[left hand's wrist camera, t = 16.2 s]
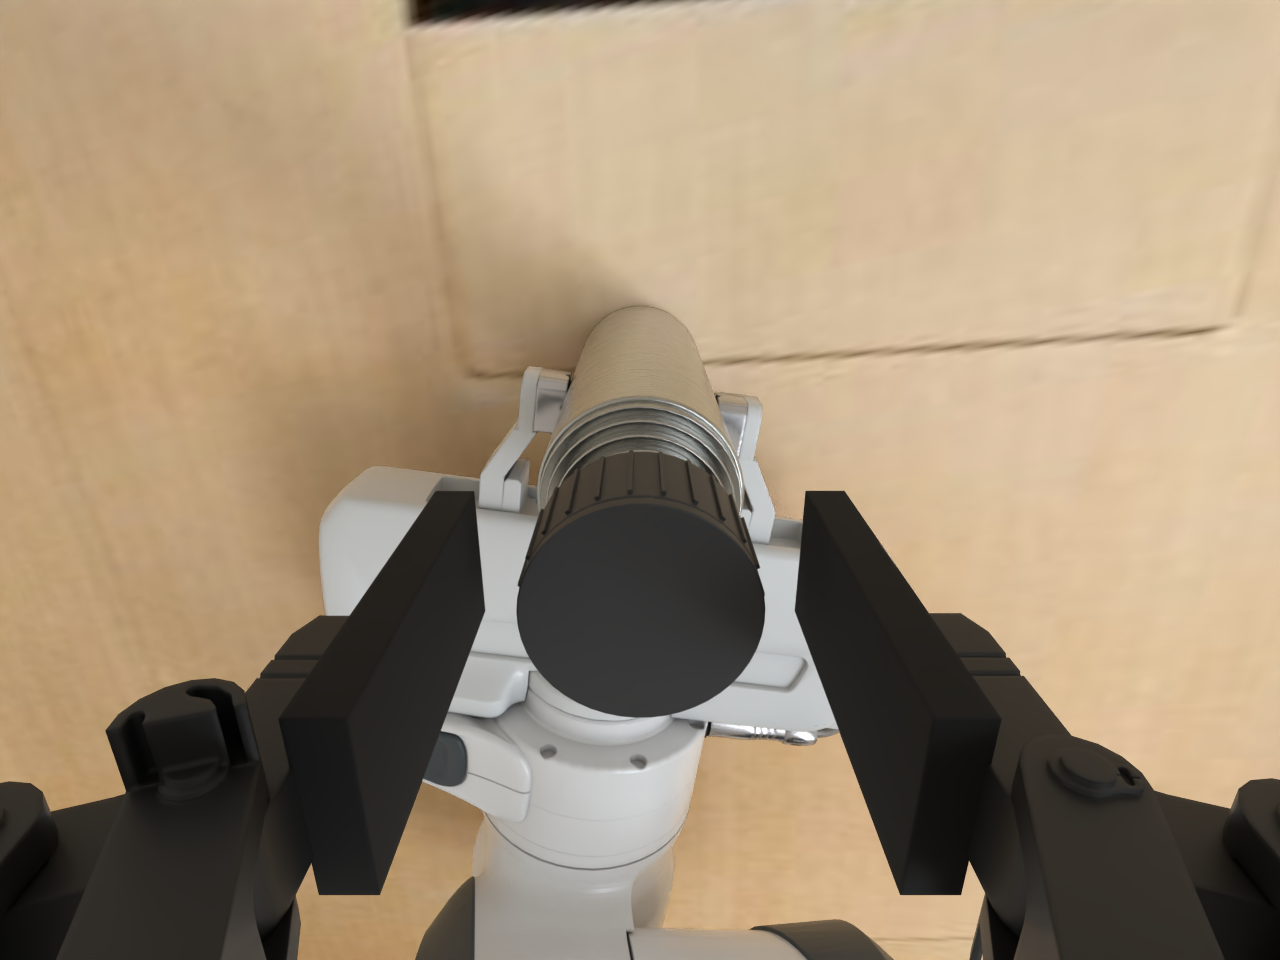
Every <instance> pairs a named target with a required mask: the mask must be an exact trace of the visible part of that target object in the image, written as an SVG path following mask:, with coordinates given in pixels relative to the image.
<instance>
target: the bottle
mask: <svg viewBox="0 0 1280 960" xmlns="http://www.w3.org/2000/svg"><path fill="white" fill-rule="evenodd" d="M629 450H633V452H655V453H659V451H660V452H663V454H666V455H671V456H675V457H677V458H680V459H683V460H685V461H687V459H688V460H690V461H691V463H692V464H694V465H696V466H697V467H699V468H701V469H702V470H704V471H705V472H707V473H708V474H709V475H711V474H713V475H714V476H715V478H716V481H717V482H718V483H719V484H721V486H722V487H723V488H724V489H725V490H726V492H727V493H728V494H729V495H730V494H732V495H733V497H734V500H735V503H736V507H737V510H738V512H739V515H740V517H741V513H742V509H743V502H744V480H743V474H742V469H741V466H740V463H739V460H738V457H737V454H736V451H735V449H734V446H733V443H732V441H731V438H730V435H729V433H728V430H727V427H726V425H725V422H724V419H723V417H722V414H721V411H720V409H719V406H718V403H717V401H716V398H715V395H714V393H713V390H712V387H711V385H710V382H709V379H708V377H707V374H706V371H705V369H704V366H703V363H702V361H701V358H700V355H699V353H698V350H697V347H696V345H695V342H694V340H693V338H692V336H691V334H690V333H689V331H688V330H687V329H686V327H685V326H684V325H683V324H682V323H681V322H680V321H679V320H678V319H676V318H675V317H674V316H672V315H670V314H669V313H667V312H665V311H663V310H660V309H657V308H653V307H647V306H634V307H628V308H623V309H621V310H618V311H615V312H613V313H612V314H610V315H608V316H607V317H605V318H604V319H602V320H601V321H600V322H599V323H598V324H597V325H596V326H595V328H594V329H593V330H592V331H591V333H590V335H589V336H588V338H587V340H586V343H585V345H584V348H583V350H582V353H581V356H580V359H579V361H578V364H577V367H576V370H575V372H574V375H573V378H572V380H571V383H570V386H569V389H568V391H567V394H566V397H565V399H564V402H563V405H562V408H561V410H560V413H559V416H558V419H557V421H556V424H555V427H554V429H553V432H552V435H551V438H550V440H549V443H548V446H547V448H546V451H545V454H544V457H543V459H542V462H541V466H540V470H539V473H538V480H537V502H538V509H539V512H540V510H541V509H544V508H545V506H546V505H547V503H548V501H549V499H550V498H551V496H552V494H553V490H554V488H555V487H556V486H557V487H559V486H560V485H561V484H562V483H563V482H564V481H565V480H566V479H567V478H568V477H570V476H571V475H572V474H574V470H575V469H577V468H578V469H581V468H582V467H584V466H586V465H588V464H589V463H592V462H594V461H596V460H598V459H600V457H602V456H604V457H607V456H611V455H615V454H620V453H627V452H629Z"/></svg>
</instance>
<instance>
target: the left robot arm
mask: <svg viewBox="0 0 1280 960" xmlns="http://www.w3.org/2000/svg"><path fill="white" fill-rule="evenodd" d="M484 613H485V601H484V590H483V579H482V569H481V558H480V547H479V536H478V526H477V515H476V504H475V493H474V491H435V493H434V494H433V496H432V497H431V498H430V500H429V501H428V503H427V504H426V506H425V507H424V509H423V510H422V511H421V513H420V514H419V516H418V517H417V519H416V520H415V522H414V523H413V524H412V526H411V527H410V529H409V530H408V532H407V533H406V535H405V536H404V537H403V539H402V540H401V542H400V543H399V545H398V546H397V548H396V549H395V551H394V552H393V553H392V555H391V556H390V558H389V559H388V561H387V562H386V564H385V565H384V566H383V568H382V569H381V571H380V572H379V574H378V575H377V577H376V578H375V579H374V581H373V582H372V584H371V585H370V587H369V588H368V590H367V591H366V592H365V594H364V595H363V597H362V598H361V600H360V601H359V603H358V604H357V605H356V607H355V608H354V610H353V611H352V613H351V614H350V616H318V617H317V618H315V619H314V620H312V621H311V622H309V623H308V624H306V625H305V626H303V627H302V628H300V629H299V630H297V631H296V632H294V633H293V634H292V635H291V636H290V637H289V638H288V640H287V641H286V642H285V644H284V645H283V646H282V647H281V649H280V650H279V651H278V652H277V654H276V655H275V659H274V660H271V661H270V662H269V664H268V665H267V666H266V667H265V669H264V670H263V671H262V673H261V676H260V678H257V679H256V680H255V681H254V683H253V684H252V685H251V686H250V688H249V689H248V690H247V691H246V693H245V692H244V690H243V689H242V688H240V687H239V686H238V685H237V684H235V683H234V682H231V681H226V680H221V679H216V678H213V679H200V680H190V681H186V682H183V683H179V684H175V685H172V686H168V687H165V688H163V689H160V690H158V691H156V692H154V693H152V694H150V695H147V696H145V697H143V698H141V699H139V700H138V701H136V702H135V703H134V704H132V705H131V706H129V707H128V708H127V709H125V710H124V711H122V712H121V713H120V714H118V716H117V717H116V718H115V719H114V721H113V722H112V723H111V724H110V726H109V727H108V728H107V729H106V734H107V737H108V740H109V742H110V745H111V748H112V751H113V754H114V757H115V760H116V763H117V766H118V768H119V771H120V774H121V777H122V780H123V783H124V786H125V789H126V793H125V794H123V795H120V796H117V797H113V798H109V799H104V800H100V801H96V802H91V803H87V804H83V805H78V806H74V807H69V808H65V809H61V810H56V811H52V812H50V809H49V807H48V804H47V802H46V799H45V797H44V794H43V792H42V791H41V790H39V789H38V788H36V787H35V786H34V785H32V784H31V783H21V782H4V783H0V960H297V955H298V945H299V936H300V926H301V922H300V915H299V908H298V904H297V900H296V896H295V895H296V893H297V891H298V889H299V887H300V885H301V883H302V881H303V879H304V877H305V875H306V873H307V871H308V869H309V867H310V865H311V863H312V867H313V871H314V875H315V880H316V884H317V888H318V893H319V895H380V893H381V890H382V888H383V885H384V882H385V880H386V877H387V874H388V871H389V869H390V866H391V863H392V861H393V858H394V855H395V853H396V850H397V847H398V845H399V842H400V839H401V837H402V834H403V831H404V828H405V826H406V823H407V820H408V818H409V815H410V812H411V810H412V807H413V804H414V802H415V799H416V796H417V794H418V791H419V788H420V785H421V783H422V780H423V777H424V775H425V772H426V769H427V767H428V764H429V761H430V759H431V756H432V753H433V750H434V748H435V745H436V742H437V740H438V737H439V734H440V732H441V729H442V726H443V724H444V721H445V718H446V716H447V713H448V710H449V707H450V705H451V702H452V699H453V697H454V694H455V691H456V689H457V686H458V683H459V681H460V678H461V675H462V673H463V670H464V667H465V664H466V662H467V659H468V656H469V654H470V651H471V648H472V646H473V643H474V640H475V638H476V635H477V632H478V629H479V627H480V624H481V621H482V619H483V616H484ZM795 613H796V616H797V619H798V621H799V624H800V627H801V630H802V632H803V635H804V638H805V640H806V643H807V646H808V648H809V651H810V654H811V656H812V659H813V662H814V664H815V667H816V670H817V673H818V675H819V678H820V681H821V683H822V686H823V689H824V691H825V694H826V697H827V699H828V702H829V705H830V708H831V710H832V713H833V716H834V718H835V721H836V724H837V726H838V729H839V732H840V734H841V737H842V740H843V742H844V745H845V748H846V751H847V753H848V756H849V759H850V761H851V764H852V767H853V769H854V772H855V775H856V777H857V780H858V783H859V785H860V788H861V791H862V794H863V796H864V799H865V802H866V804H867V807H868V810H869V812H870V815H871V818H872V820H873V823H874V826H875V829H876V831H877V834H878V837H879V839H880V842H881V845H882V847H883V850H884V853H885V855H886V858H887V861H888V863H889V866H890V869H891V872H892V874H893V877H894V880H895V882H896V885H897V888H898V890H899V893H900V895H961V893H962V888H963V884H964V880H965V875H966V871H967V867H968V862H969V861H970V863H971V865H972V867H973V869H974V871H975V873H976V875H977V877H978V879H979V881H980V883H981V885H982V887H983V889H984V891H985V896H984V900H983V904H982V908H981V912H980V916H979V920H978V924H977V928H976V932H975V936H974V940H973V944H972V948H971V953H970V960H981V958H982V954H983V960H1280V780H1278V779H1272V778H1271V779H1259V780H1250V781H1249V782H1247V783H1246V784H1245V785H1243V786H1242V787H1241V788H1239V789H1238V792H1237V794H1236V797H1235V799H1234V802H1233V804H1232V807H1231V809H1229V808H1224V807H1220V806H1216V805H1211V804H1207V803H1202V802H1198V801H1194V800H1189V799H1185V798H1180V797H1176V796H1172V795H1167V794H1164V793H1160V792H1157V791H1154V790H1153V788H1152V787H1151V785H1150V784H1149V783H1148V781H1147V780H1146V778H1145V777H1144V775H1143V774H1142V773H1141V772H1140V771H1139V770H1138V769H1137V768H1135V767H1134V766H1133V765H1132V764H1130V763H1129V762H1128V761H1127V760H1126V759H1124V758H1123V757H1122V756H1120V755H1118V754H1116V753H1114V752H1112V751H1110V750H1109V749H1107V748H1105V747H1103V746H1101V745H1099V744H1096V743H1093V742H1090V741H1087V740H1083V739H1080V738H1077V737H1074V736H1071V735H1070V733H1069V732H1068V731H1067V729H1066V728H1065V727H1064V726H1063V724H1062V723H1061V722H1060V721H1059V719H1058V718H1057V717H1056V716H1055V714H1054V713H1053V712H1052V711H1051V709H1050V708H1049V707H1048V706H1047V704H1046V703H1045V702H1044V701H1043V699H1042V698H1041V697H1040V696H1039V694H1038V693H1037V692H1036V691H1035V689H1034V688H1033V687H1032V686H1031V684H1030V683H1029V682H1028V681H1027V679H1026V678H1025V677H1024V676H1021V675H1020V671H1019V669H1018V668H1017V667H1016V666H1015V664H1014V663H1013V662H1012V661H1011V659H1010V658H1006V653H1005V652H1004V651H1003V649H1002V648H1001V647H1000V646H999V644H998V643H997V642H996V641H995V639H994V638H993V637H992V636H991V634H990V633H989V632H988V631H987V630H985V629H983V628H982V627H980V626H979V625H977V624H976V623H974V622H973V621H971V620H970V619H968V618H967V617H965V616H964V615H962V614H961V613H928V611H927V610H926V608H925V607H924V606H923V604H922V603H921V601H920V600H919V598H918V597H917V595H916V594H915V592H914V591H913V590H912V588H911V587H910V585H909V584H908V582H907V581H906V579H905V578H904V577H903V575H902V574H901V572H900V571H899V569H898V568H897V566H896V565H895V564H894V562H893V561H892V559H891V558H890V556H889V555H888V553H887V552H886V551H885V549H884V548H883V546H882V545H881V543H880V542H879V540H878V539H877V538H876V536H875V535H874V533H873V532H872V530H871V529H870V527H869V526H868V524H867V523H866V522H865V520H864V519H863V517H862V516H861V514H860V513H859V511H858V510H857V509H856V507H855V506H854V504H853V503H852V501H851V500H850V498H849V497H848V496H847V494H846V493H845V491H806V493H805V504H804V515H803V525H802V536H801V547H800V558H799V568H798V579H797V590H796V601H795Z"/></svg>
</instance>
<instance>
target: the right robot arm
mask: <svg viewBox="0 0 1280 960" xmlns="http://www.w3.org/2000/svg"><path fill="white" fill-rule="evenodd" d="M571 375H572V373H571V372H566V371H560V370H553V369H547V368H543V367H533V366H528V367H527V369H526V371H525V372H524V375H523V380H522V385H521V394H520V406H519V418H518V420H517V421H516V422H515V424H514V425H513V426H512V428H511V429H510V430H509V432H508V433H507V434H506V436H505V437H504V439H503V440H502V441H501V443H500V444H499V445H498V447H497V448H496V449H495V451H494V452H493V453H492V455H491V457H490V458H489V460H488V462H487V464H486V465H485V467H484V469H483V471H482V472H481V474H480V478H474V477H466V476H458V475H450V474H443V473H435V472H427V471H419V470H412V469H404V468H396V467H389V466H372V467H370V468H368V469H366V470H365V471H363V472H362V473H361V474H360V475H359V476H357V477H356V478H355V479H354V480H352V481H351V482H350V483H349V484H348V485H346V486H345V487H344V488H343V489H342V490H341V491H340V492H339V493H338V495H337V496H336V497H335V498H334V499H333V500H332V501H331V502H330V504H329V505H328V507H327V508H326V510H325V512H324V514H323V516H322V518H321V522H320V527H319V561H320V574H321V584H322V594H323V601H324V608H325V615H326V616H350V614H351V613H352V611H353V610H354V608H355V607H356V605H357V604H358V603H359V601H360V600H361V598H362V597H363V595H364V594H365V592H366V591H367V590H368V588H369V587H370V585H371V584H372V582H373V581H374V579H375V578H376V577H377V575H378V574H379V572H380V571H381V569H382V568H383V566H384V565H385V564H386V562H387V561H388V559H389V558H390V556H391V555H392V553H393V552H394V551H395V549H396V548H397V546H398V545H399V543H400V542H401V540H402V539H403V537H404V536H405V535H406V533H407V532H408V530H409V529H410V527H411V526H412V524H413V523H414V522H415V520H416V519H417V517H418V516H419V514H420V513H421V511H422V510H423V509H424V507H425V506H426V504H427V503H428V501H429V500H430V498H431V497H432V496H433V494H434V493H435V491H474V493H475V504H476V515H477V526H478V536H479V547H480V558H481V569H482V579H483V590H484V601H485V613H484V616H483V619H482V621H481V624H480V627H479V629H478V632H477V635H476V638H475V640H474V643H473V646H472V648H471V651H470V654H469V656H468V659H467V662H466V664H465V667H464V670H463V673H462V675H461V678H460V681H459V683H458V686H457V689H456V691H455V694H454V697H453V699H452V702H451V705H450V707H449V710H448V713H447V716H446V718H445V721H444V724H443V726H442V729H441V732H440V734H439V737H438V740H437V742H436V745H435V748H434V750H433V753H432V756H431V759H430V761H429V764H428V767H427V769H426V772H425V775H424V777H423V780H422V782H424V783H427V784H429V785H432V786H434V787H436V788H439V789H441V790H443V791H445V792H448V793H450V794H452V795H454V796H456V797H458V798H460V799H462V800H464V801H466V802H468V803H470V804H472V805H473V806H475V807H477V808H479V809H481V810H482V812H483V816H484V819H483V822H482V824H481V826H480V828H479V831H478V834H477V837H476V840H475V843H474V848H473V856H472V866H471V877H470V878H469V879H468V880H467V881H466V882H465V883H464V884H463V885H462V886H461V887H460V888H459V889H458V890H457V891H456V892H455V893H454V894H453V896H452V897H451V898H450V899H449V901H448V902H447V903H446V905H445V906H444V908H443V909H442V910H441V912H440V913H439V914H438V916H437V917H436V918H435V920H434V921H433V923H432V924H431V925H430V927H429V928H428V930H427V931H426V932H425V934H424V937H423V939H422V942H421V944H420V947H419V950H418V953H417V956H416V959H415V960H894V959H893V958H892V957H890V956H889V955H888V954H887V953H886V952H885V951H884V950H883V949H882V948H881V947H880V946H879V945H878V944H876V943H875V942H874V941H873V940H871V939H870V938H869V937H868V936H867V935H865V934H864V933H863V932H862V931H861V930H859V929H858V928H857V927H855V926H854V925H852V924H850V923H848V922H846V921H843V920H836V919H834V920H823V921H811V922H800V923H789V924H777V925H766V926H756V927H753V928H751V929H749V930H729V929H680V928H662V925H663V922H664V918H665V914H666V910H667V906H668V902H669V898H670V894H671V890H672V885H673V877H674V851H673V844H674V842H675V841H676V839H677V838H678V836H679V834H680V833H681V830H682V828H683V826H684V824H685V821H686V818H687V815H688V811H689V807H690V801H691V797H692V793H693V788H694V784H695V779H696V774H697V770H698V765H699V761H700V757H701V752H702V747H703V742H704V738H706V736H713V737H721V738H730V739H739V740H764V739H765V740H772V741H780V742H782V743H783V744H787V745H793V746H809V745H814V744H815V743H816V741H817V738H822V737H828V736H832V735H835V734H837V733H839V729H838V726H837V724H836V721H835V718H834V716H833V713H832V710H831V708H830V705H829V702H828V699H827V697H826V694H825V691H824V689H823V686H822V683H821V681H820V678H819V675H818V673H817V670H816V667H815V664H814V662H813V659H812V656H811V654H810V651H809V648H808V646H807V643H806V640H805V638H804V635H803V632H802V630H801V627H800V624H799V621H798V619H797V616H796V613H795V601H796V590H797V579H798V568H799V558H800V547H801V536H802V525H803V520H802V519H794V518H786V517H778V516H775V514H776V513H775V510H774V507H773V504H772V501H771V499H770V496H769V493H768V490H767V488H766V485H765V482H764V479H763V476H762V474H761V471H760V468H759V465H758V463H757V460H756V458H755V456H754V454H755V449H756V445H757V440H758V435H759V430H760V425H761V421H762V404H761V403H760V401H759V399H758V398H757V397H753V396H745V395H738V394H730V393H722V392H715V393H714V395H715V398H716V401H717V403H718V406H719V409H720V411H721V414H722V417H723V419H724V422H725V425H726V427H727V430H728V433H729V435H730V438H731V441H732V443H733V446H734V449H735V451H736V454H737V457H738V460H739V463H740V466H741V469H742V474H743V480H744V502H743V509H742V513H741V518H742V517H744V519H745V522H746V525H747V528H748V531H749V534H750V537H751V541H752V544H753V547H754V550H755V553H756V556H757V559H758V562H759V565H760V569H757V570H758V573H759V576H760V579H761V582H762V586H763V589H764V592H765V596H764V599H765V623H764V628H763V633H762V637H761V639H760V642H759V645H758V648H757V650H756V652H755V654H754V656H753V657H752V659H751V661H750V663H749V664H748V665H747V667H746V668H745V670H744V671H743V672H742V674H741V675H740V676H739V677H738V678H737V679H736V680H735V681H734V682H733V683H732V684H731V685H730V686H728V687H727V688H726V689H725V690H724V691H722V692H721V693H720V694H718V695H717V696H715V697H713V698H712V699H710V700H709V701H707V702H705V703H703V704H701V705H698V706H696V707H694V708H691V709H688V710H686V711H683V712H680V713H675V714H671V715H667V716H659V717H651V718H632V717H621V716H616V715H611V714H606V713H602V712H599V711H596V710H593V709H590V708H588V707H585V706H583V705H581V704H579V703H577V702H575V701H573V700H572V699H570V698H568V697H566V696H565V695H563V694H562V693H561V692H559V691H558V690H557V689H555V688H554V687H553V686H552V685H551V684H550V683H549V682H548V681H547V680H546V679H545V678H544V677H543V676H542V675H541V674H540V673H539V671H538V670H537V669H536V667H535V666H534V665H533V663H532V661H531V660H530V658H529V656H528V655H527V653H526V650H525V648H524V646H523V643H522V641H521V637H520V633H519V630H518V625H517V614H516V609H517V596H518V592H519V587H518V581H519V578H520V574H521V571H522V568H523V565H524V562H525V557H526V554H527V550H528V547H529V544H530V541H531V538H532V535H533V531H534V528H535V525H536V522H537V519H538V516H539V509H538V502H537V486H536V485H528V484H529V470H530V462H529V460H528V459H524V458H519V457H520V455H521V454H522V452H523V451H524V450H525V448H526V447H527V446H528V444H529V443H530V442H531V440H532V439H533V438H534V436H535V435H536V434H537V432H545V433H552V432H553V429H554V427H555V424H556V421H557V419H558V416H559V413H560V410H561V408H562V405H563V402H564V399H565V397H566V394H567V391H568V389H569V386H570V383H571ZM881 545H882V544H881ZM883 548H884V547H883ZM884 549H885V548H884ZM885 551H886V549H885ZM886 552H887V551H886ZM887 553H888V552H887ZM888 555H889V553H888ZM889 556H890V555H889ZM890 558H891V556H890ZM891 559H892V558H891ZM892 561H893V560H892ZM893 562H894V561H893ZM894 564H895V563H894Z"/></svg>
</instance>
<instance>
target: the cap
mask: <svg viewBox="0 0 1280 960" xmlns="http://www.w3.org/2000/svg"><path fill="white" fill-rule="evenodd" d="M757 569H760V565H759V562H758V559H757V556H756V553H755V550H754V547H753V544H752V541H751V537H750V534H749V531H748V528H747V525H746V522H745V519H744V517H742V518H741V517H740V515H739V512H738V510H737V507H736V503H735V500H734V497H733V495H732V494H730V495H729V494H728V493H727V492H726V490H725V489H724V488H723V487H722V486H721V484H719V483H718V482H717V481H716V478H715V476H714V475H713V474H711V475H709V474H708V473H707V472H705V471H704V470H702V469H701V468H699V467H697V466H696V465H694V464H692V463H691V461H690V460H688V459H687V461H685V460H683V459H680V458H677V457H675V456H671V455H666V454H663V452H660V451H659V453H655V452H633V450H629V452H627V453H620V454H615V455H611V456H607V457H604V456H602V457H600V459H598V460H596V461H594V462H592V463H589V464H588V465H586V466H584V467H582V468H581V469H578V468H577V469H575V470H574V474H572V475H571V476H570V477H568V478H567V479H566V480H565V481H564V482H563V483H562V484H561V485H560V486H559V487H557V486H556V487H555V488H554V490H553V494H552V496H551V498H550V499H549V501H548V503H547V505H546V506H545V508H544V509H541V510H540V512H539V516H538V519H537V522H536V525H535V528H534V531H533V535H532V538H531V541H530V544H529V547H528V550H527V554H526V557H525V562H524V565H523V568H522V571H521V574H520V578H519V581H518V587H519V592H518V596H517V609H516V614H517V625H518V630H519V633H520V637H521V641H522V643H523V646H524V648H525V650H526V653H527V655H528V656H529V658H530V660H531V661H532V663H533V665H534V666H535V667H536V669H537V670H538V671H539V673H540V674H541V675H542V676H543V677H544V678H545V679H546V680H547V681H548V682H549V683H550V684H551V685H552V686H553V687H554V688H555V689H557V690H558V691H559V692H561V693H562V694H563V695H565V696H566V697H568V698H570V699H572V700H573V701H575V702H577V703H579V704H581V705H583V706H585V707H588V708H590V709H593V710H596V711H599V712H602V713H606V714H611V715H616V716H621V717H632V718H651V717H659V716H667V715H671V714H675V713H680V712H683V711H686V710H688V709H691V708H694V707H696V706H698V705H701V704H703V703H705V702H707V701H709V700H710V699H712V698H713V697H715V696H717V695H718V694H720V693H721V692H722V691H724V690H725V689H726V688H727V687H728V686H730V685H731V684H732V683H733V682H734V681H735V680H736V679H737V678H738V677H739V676H740V675H741V674H742V672H743V671H744V670H745V668H746V667H747V665H748V664H749V663H750V661H751V659H752V657H753V656H754V654H755V652H756V650H757V648H758V645H759V642H760V639H761V637H762V633H763V628H764V623H765V599H764V596H765V592H764V589H763V586H762V582H761V579H760V576H759V573H758V570H757Z"/></svg>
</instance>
